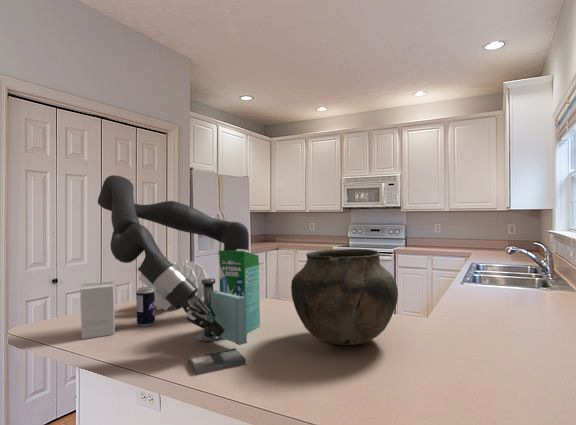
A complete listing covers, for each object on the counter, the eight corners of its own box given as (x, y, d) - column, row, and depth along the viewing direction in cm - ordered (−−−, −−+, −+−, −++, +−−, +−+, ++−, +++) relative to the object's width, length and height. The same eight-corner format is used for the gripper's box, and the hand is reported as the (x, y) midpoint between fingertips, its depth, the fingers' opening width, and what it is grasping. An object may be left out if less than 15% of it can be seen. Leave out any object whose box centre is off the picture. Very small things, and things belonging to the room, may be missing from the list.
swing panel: (210, 334, 104) (209, 291, 104) (217, 331, 105) (216, 290, 106) (239, 345, 94) (238, 298, 94) (246, 342, 96) (245, 297, 96)
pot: (273, 357, 91) (271, 257, 91) (309, 321, 121) (308, 246, 121) (394, 372, 81) (392, 260, 81) (401, 329, 111) (400, 247, 111)
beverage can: (151, 327, 118) (150, 289, 118) (133, 327, 118) (133, 290, 118) (157, 321, 124) (157, 286, 124) (141, 322, 124) (140, 286, 124)
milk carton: (260, 326, 117) (258, 248, 117) (245, 334, 109) (243, 250, 109) (236, 323, 121) (234, 247, 121) (220, 331, 113) (218, 250, 113)
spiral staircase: (205, 309, 155) (159, 322, 133) (178, 288, 163) (130, 297, 141) (220, 271, 153) (176, 278, 131) (192, 252, 161) (146, 255, 139)
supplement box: (114, 327, 119) (113, 281, 119) (114, 334, 111) (114, 285, 111) (82, 331, 115) (81, 283, 115) (80, 339, 107) (79, 288, 107)
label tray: (235, 353, 94) (235, 346, 94) (246, 364, 87) (245, 357, 87) (188, 362, 89) (188, 355, 89) (195, 374, 82) (195, 367, 82)
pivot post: (217, 332, 111) (216, 276, 111) (224, 339, 105) (223, 280, 105) (194, 336, 108) (193, 279, 108) (199, 343, 102) (198, 282, 102)
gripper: (174, 292, 103) (218, 335, 102) (155, 303, 90) (204, 353, 89) (193, 273, 103) (236, 316, 102) (176, 281, 89) (226, 332, 89)
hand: (221, 334), depth 95 cm, fingers closed
